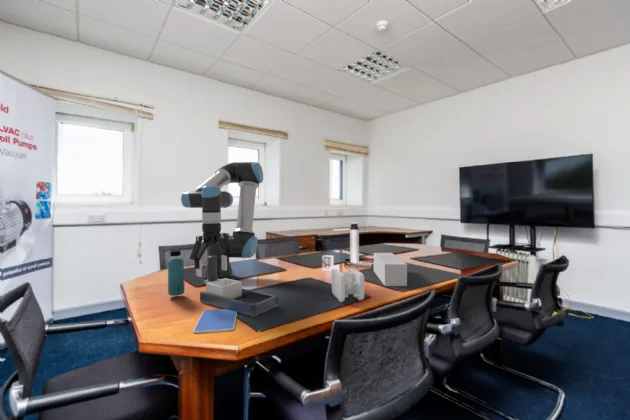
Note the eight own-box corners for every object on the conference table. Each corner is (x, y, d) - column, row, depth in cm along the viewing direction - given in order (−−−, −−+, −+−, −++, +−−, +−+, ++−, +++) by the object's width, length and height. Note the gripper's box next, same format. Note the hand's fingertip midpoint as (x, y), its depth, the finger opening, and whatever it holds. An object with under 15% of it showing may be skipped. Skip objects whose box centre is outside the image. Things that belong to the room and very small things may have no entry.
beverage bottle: (178, 299, 126) (177, 252, 125) (164, 298, 127) (163, 251, 127) (187, 295, 132) (187, 249, 132) (174, 294, 134) (173, 249, 133)
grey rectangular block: (373, 270, 179) (373, 252, 178) (391, 271, 178) (391, 252, 178) (384, 286, 147) (384, 264, 146) (406, 286, 146) (407, 264, 146)
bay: (225, 293, 135) (225, 284, 134) (277, 306, 118) (277, 296, 118) (200, 301, 124) (200, 292, 124) (253, 317, 107) (253, 306, 107)
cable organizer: (330, 293, 135) (330, 267, 135) (353, 291, 138) (353, 266, 137) (340, 304, 121) (340, 275, 120) (365, 302, 123) (365, 274, 123)
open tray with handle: (218, 290, 135) (218, 254, 134) (241, 295, 127) (241, 257, 126) (199, 296, 126) (198, 257, 126) (222, 302, 118) (222, 261, 118)
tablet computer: (203, 312, 113) (203, 309, 113) (238, 310, 115) (238, 307, 115) (192, 335, 94) (192, 331, 94) (234, 332, 96) (234, 328, 96)
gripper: (228, 220, 141) (228, 266, 141) (179, 224, 120) (180, 277, 121) (239, 221, 136) (239, 268, 137) (191, 224, 116) (192, 280, 117)
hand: (212, 273), depth 129 cm, fingers open, 12 cm apart
